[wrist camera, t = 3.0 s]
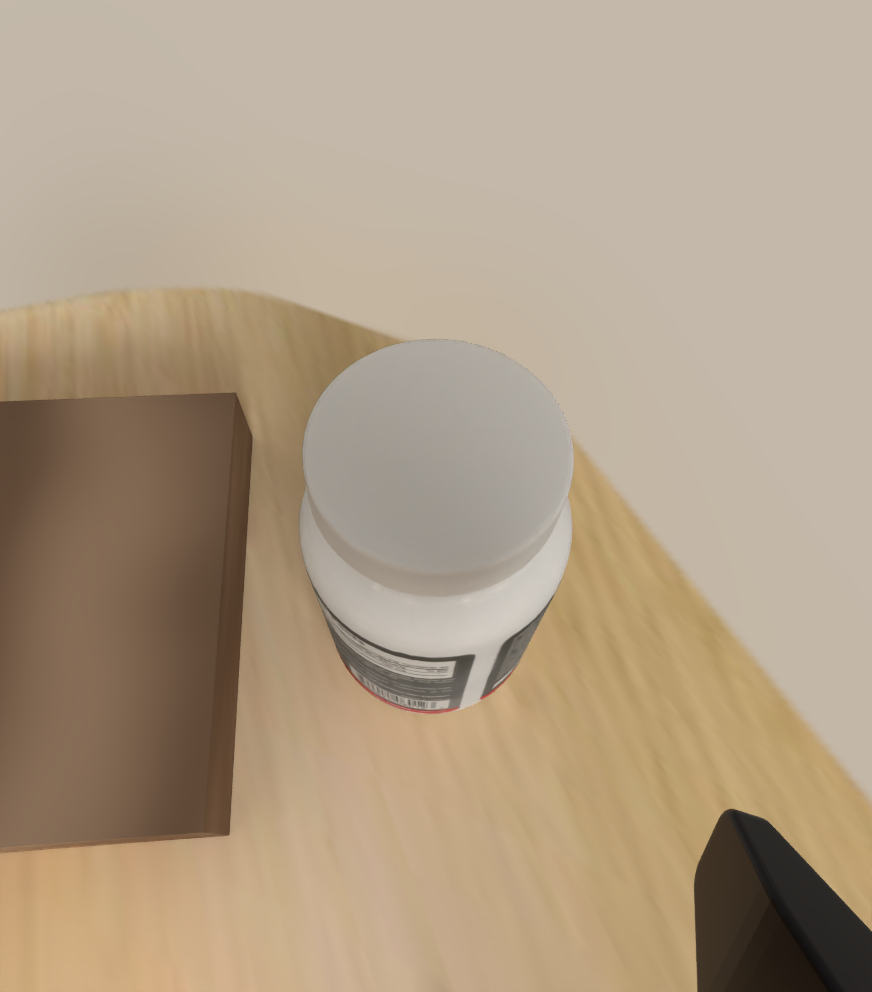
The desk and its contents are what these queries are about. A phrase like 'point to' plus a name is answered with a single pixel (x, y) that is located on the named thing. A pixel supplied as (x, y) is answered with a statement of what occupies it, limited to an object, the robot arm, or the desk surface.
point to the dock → (120, 617)
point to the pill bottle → (435, 518)
